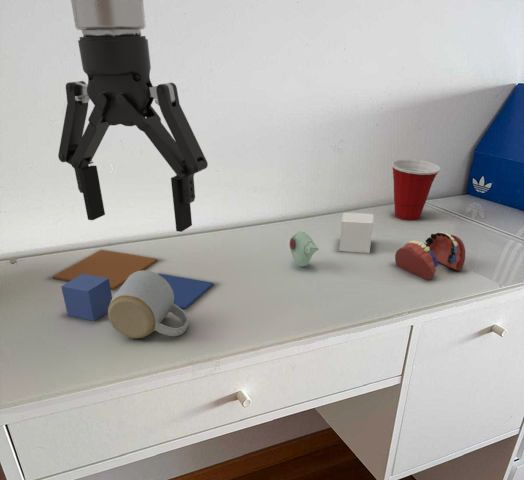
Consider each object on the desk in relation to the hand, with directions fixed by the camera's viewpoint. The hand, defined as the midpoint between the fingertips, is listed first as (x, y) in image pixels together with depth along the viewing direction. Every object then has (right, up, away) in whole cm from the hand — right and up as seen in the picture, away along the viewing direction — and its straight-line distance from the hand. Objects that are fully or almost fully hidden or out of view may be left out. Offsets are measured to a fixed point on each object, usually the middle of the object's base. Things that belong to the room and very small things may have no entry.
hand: (139, 222), depth 68 cm
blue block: (-11, -11, +13) cm, 20 cm away
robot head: (+23, -1, +28) cm, 37 cm away
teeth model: (+47, -2, +27) cm, 54 cm away
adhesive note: (+35, +4, +37) cm, 51 cm away
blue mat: (+1, -7, +19) cm, 20 cm away
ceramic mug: (0, -14, +9) cm, 16 cm away
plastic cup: (+51, +14, +54) cm, 75 cm away
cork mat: (-13, -2, +28) cm, 30 cm away
